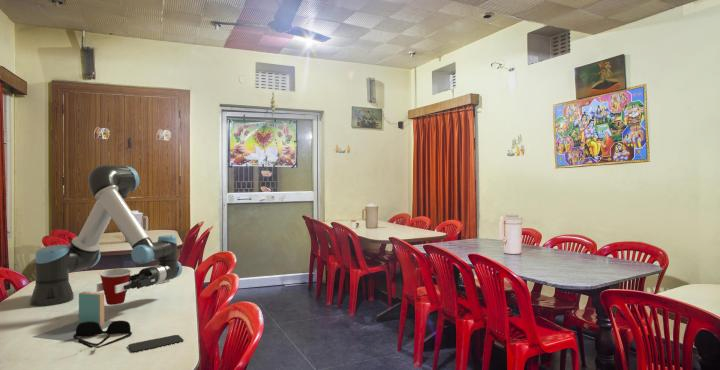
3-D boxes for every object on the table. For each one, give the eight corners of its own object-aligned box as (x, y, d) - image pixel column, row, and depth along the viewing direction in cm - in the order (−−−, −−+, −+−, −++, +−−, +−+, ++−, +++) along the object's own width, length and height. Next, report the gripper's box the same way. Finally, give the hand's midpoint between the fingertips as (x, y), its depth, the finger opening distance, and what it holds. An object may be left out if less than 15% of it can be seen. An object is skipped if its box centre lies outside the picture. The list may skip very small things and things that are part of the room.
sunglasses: (58, 355, 125) (59, 338, 125) (75, 336, 139) (76, 320, 139) (122, 351, 130) (123, 335, 130) (132, 333, 144) (133, 318, 143)
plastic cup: (106, 308, 154) (106, 275, 154) (94, 303, 160) (93, 271, 160) (137, 302, 162) (137, 270, 162) (124, 297, 169) (124, 267, 169)
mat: (32, 339, 139) (32, 336, 139) (86, 320, 158) (86, 318, 158) (70, 343, 134) (70, 341, 134) (121, 323, 154) (121, 321, 154)
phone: (184, 340, 136) (132, 351, 127) (184, 343, 136) (132, 354, 127) (178, 334, 142) (127, 344, 133) (178, 336, 142) (127, 347, 133)
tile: (78, 324, 151) (78, 293, 151) (84, 322, 153) (83, 291, 153) (99, 326, 149) (98, 294, 149) (104, 324, 151) (104, 293, 151)
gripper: (172, 286, 176) (129, 300, 154) (131, 283, 181) (84, 297, 159) (172, 267, 176) (129, 280, 154) (131, 265, 181) (84, 277, 159)
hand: (106, 288), depth 157 cm, fingers closed on plastic cup, 8 cm apart
